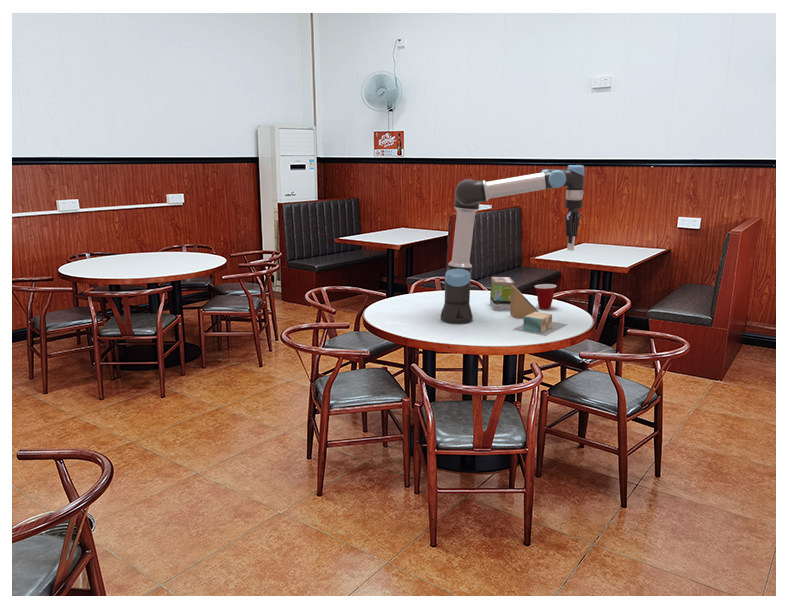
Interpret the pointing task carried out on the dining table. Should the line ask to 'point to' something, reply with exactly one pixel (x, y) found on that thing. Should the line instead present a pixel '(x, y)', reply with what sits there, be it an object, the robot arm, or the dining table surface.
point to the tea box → (501, 293)
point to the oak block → (537, 322)
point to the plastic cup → (545, 295)
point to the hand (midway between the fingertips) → (570, 250)
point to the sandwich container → (520, 304)
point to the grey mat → (554, 327)
